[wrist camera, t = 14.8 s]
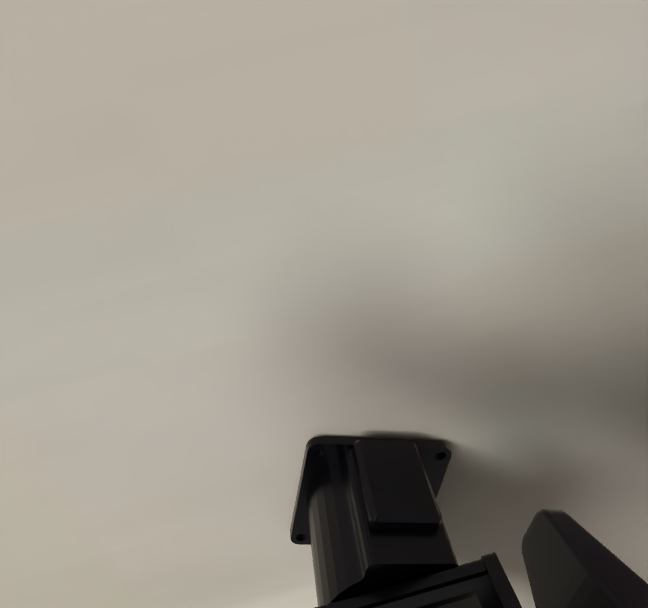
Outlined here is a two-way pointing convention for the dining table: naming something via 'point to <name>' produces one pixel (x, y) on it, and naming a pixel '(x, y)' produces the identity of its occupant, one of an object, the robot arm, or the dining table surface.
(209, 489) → the dining table surface
